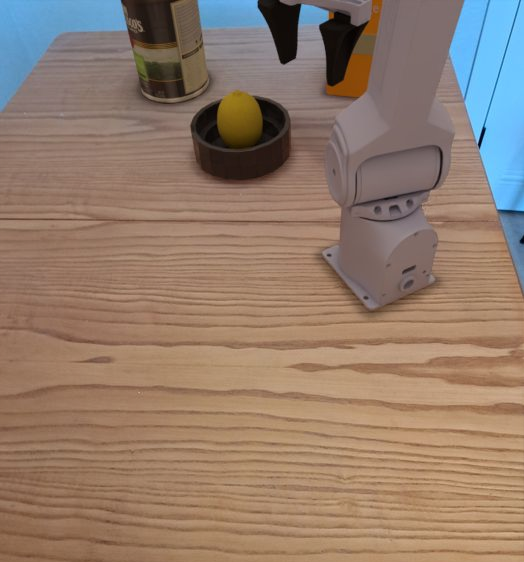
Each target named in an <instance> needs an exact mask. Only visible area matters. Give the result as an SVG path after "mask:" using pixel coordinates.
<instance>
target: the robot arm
mask: <svg viewBox="0 0 524 562" xmlns="http://www.w3.org/2000/svg"><path fill="white" fill-rule="evenodd" d="M256 3H257V9H258V11H259V12H260V14H261V15H262V17H263V19H264V20H265V22H266V25H267V26H268V29H269V32H270V34H271V37H272V39H273V44H274V46H275V49H276V53H277V57H278V60H279V63H280V64H281V65H283V66H285V65H287V64H288V63H291V62H292V61H295V60H297V54H298V48H299V47H298V46H299V44H298V41H299V40H298V39H299V23H300V15H301V9H302V6H303V5H305V6H310V7H311V6H313V7H315V8H318V9H321V10H323V11H326V12H328V13H329V12H331V13H334V18H333V19H332V18H331V19H329V18H328V20H326V21H324V22H322V23H320V24H319V25H318V30H319V32H320V36H321V38H322V42H323V47H324V53H325V77H326V85H327V84H328V85H329V86H331V87H333V86H335V85H337V84H338V83H340V82H342V81H343V80H344V77H345V73H346V70H347V66H348V63H349V60H350V57H351V55H352V52H353V50H354V47H355V45H356V43H357V41H358V39H359V37H360V36H361V34H362V32H363V30H364V29H365V27H366V26H367V24H368V23H369V20H370V18H371V7H372V0H257V2H256ZM464 4H465V0H383V3H382V9H381V14H380V20H379V25H378V31H377V37H376V42H375V48H374V53H373V59H372V64H371V70H370V76H369V81H368V87H367V91H366V92H365V93H364V94H363V95H362V96H361V97H360V98H358V97H357V99H355V100H354V101H353V102H352V103H350V104H349V105H348V106H347V107H345V108H344V109H343V110H341V111H340V112H339V113H338V114H337V115H336V116H335V117H334V125H333V126H332V130H331V134H330V137H329V138H328V141H327V142H326V144H325V146H324V152H323V166H324V167H323V168H324V175H325V180H326V185H327V188H328V192H329V194H330V196H331V199H332V200H333V201H334V202H335V203H337V205H338V206H339V207H340V209H341V210H340V223H339V224H340V226H339V241H338V242H339V243H337V244H336V245H335V244H334V245H333V246H331V247H328V248H326V249H323V250H322V252H321V256H322V258H323V259H324V260H325V261H326V263H327V264H328V265H329V266H330V267H331V268H332V269H333V271H334V272H335V273H336V274H337V275H338V276H339V278H340V279H341V281H343V283H344V284H345V285H346V286H347V287H348V288H349V290H351V292H352V293H353V294H354V295H355V297H357V299H358V300H359V301H360V302H361V303H362V305H363V306H364V307H365V308H366V309H367V310H368V311H375V310H377V309H379V308H382V307H384V306H386V305H389V304H391V303H393V302H395V301H397V300H400V299H402V298H404V297H407V296H409V295H411V294H413V293H416V292H417V291H419V290H422V289H424V288H426V287H428V286H430V285H432V284H434V283H435V281H436V277H435V275H433V274H432V270H433V265H434V261H435V256H436V252H437V249H438V246H439V245H438V243H439V235H438V233H437V232H436V230H435V229H434V227H433V226H432V225H431V224H430V222H429V220H428V218H427V216H426V215H425V212H424V209H423V205H422V204H425V203H427V202H429V197H430V194H431V191H434V190H438V189H440V188H441V187H442V186H443V185H444V183H445V181H446V179H447V178H448V175H449V172H450V170H451V169H450V168H451V163H452V162H451V161H452V146H453V141H454V139H455V136H456V131H455V130H456V129H455V127H454V124H453V120H452V117H451V115H450V113H449V111H448V109H447V107H446V106H445V104H444V103H443V102H442V101H441V100H440V99H439V98H438V97H436V94H437V91H438V87H439V85H440V83H441V82H440V81H441V78H442V75H443V72H444V69H445V65H446V63H447V59H448V55H449V53H450V49H451V46H452V42H453V39H454V36H455V33H456V30H457V27H458V24H459V20H460V17H461V13H462V10H463V7H464Z"/></svg>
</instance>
